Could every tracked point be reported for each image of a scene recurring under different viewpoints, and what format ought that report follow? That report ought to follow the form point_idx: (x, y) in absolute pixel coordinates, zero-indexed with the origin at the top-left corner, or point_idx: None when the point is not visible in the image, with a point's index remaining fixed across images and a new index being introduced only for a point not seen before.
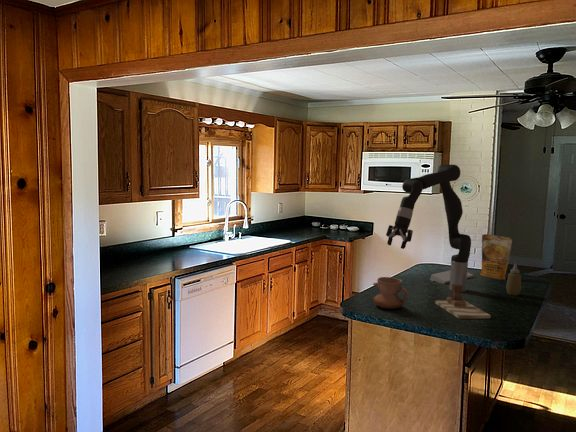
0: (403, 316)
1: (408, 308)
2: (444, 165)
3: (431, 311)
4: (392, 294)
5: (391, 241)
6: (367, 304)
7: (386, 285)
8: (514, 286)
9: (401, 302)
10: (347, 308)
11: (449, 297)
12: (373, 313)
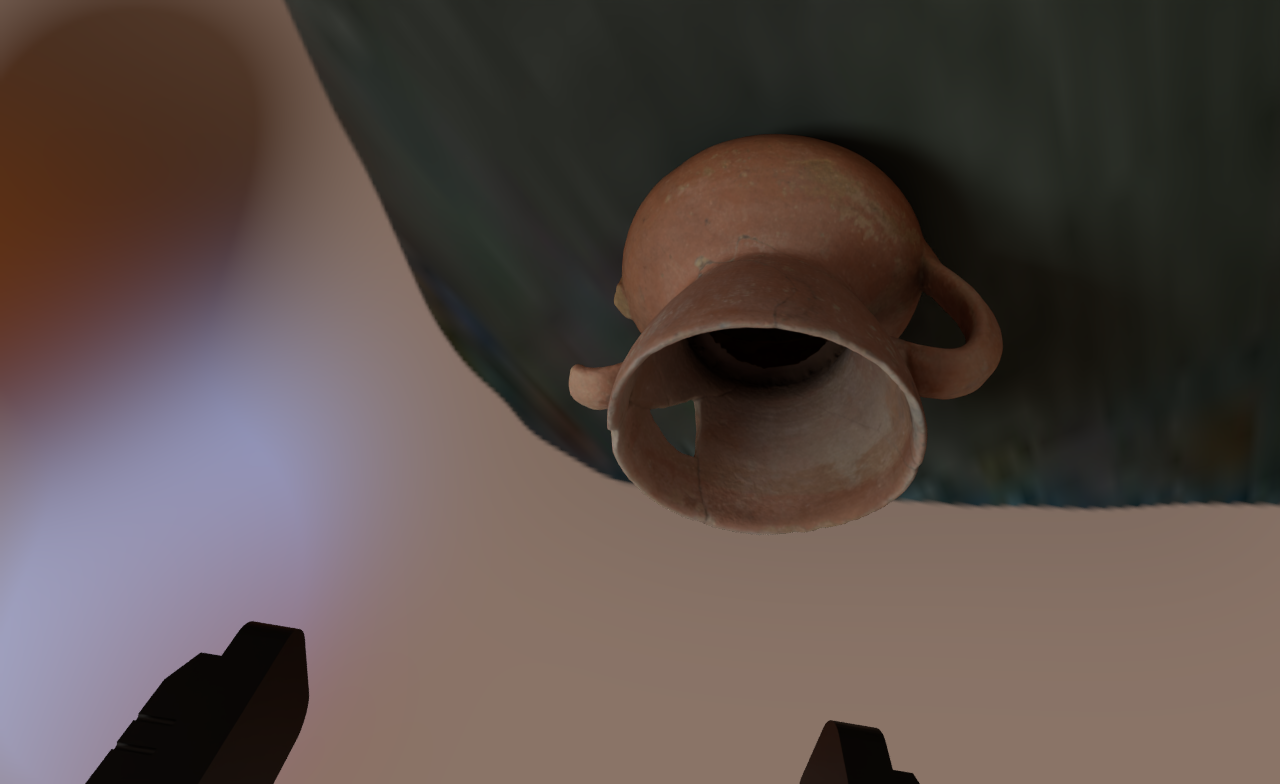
0: (986, 391)
1: (974, 156)
2: None
3: (1276, 81)
4: (835, 390)
5: (219, 779)
6: (595, 290)
7: (784, 508)
8: None
9: (921, 292)
10: (563, 444)
11: None
12: None
